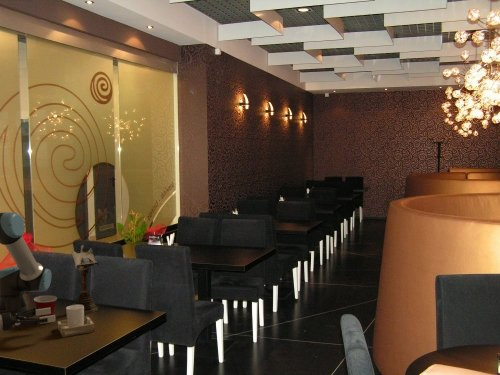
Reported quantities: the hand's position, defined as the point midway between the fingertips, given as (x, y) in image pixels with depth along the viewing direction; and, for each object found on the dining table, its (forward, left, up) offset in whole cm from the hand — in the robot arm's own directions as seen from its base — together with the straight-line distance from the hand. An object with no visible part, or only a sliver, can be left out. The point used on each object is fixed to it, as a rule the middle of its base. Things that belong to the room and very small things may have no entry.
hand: (53, 314), depth 242 cm
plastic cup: (-21, 0, -9) cm, 23 cm away
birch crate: (0, +10, -9) cm, 13 cm away
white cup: (0, +10, -8) cm, 13 cm away
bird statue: (-27, +21, -9) cm, 35 cm away
